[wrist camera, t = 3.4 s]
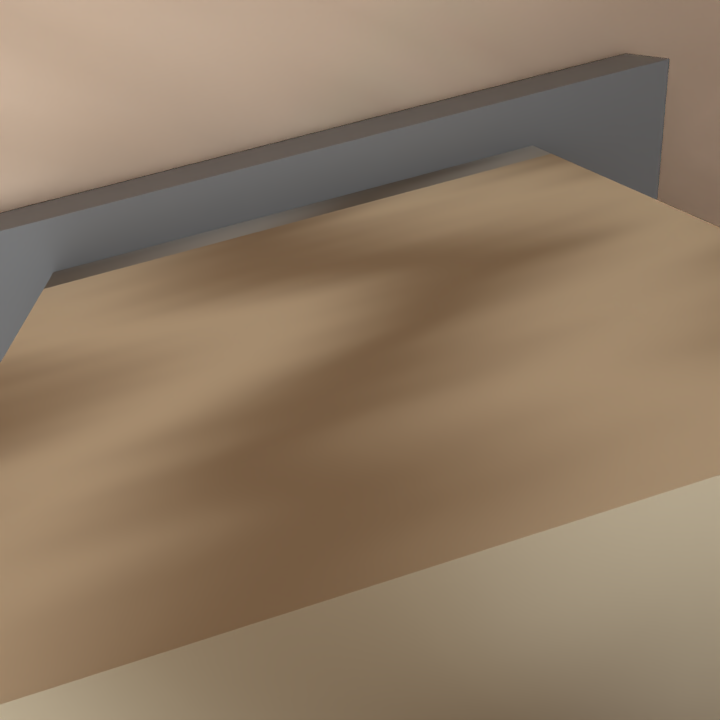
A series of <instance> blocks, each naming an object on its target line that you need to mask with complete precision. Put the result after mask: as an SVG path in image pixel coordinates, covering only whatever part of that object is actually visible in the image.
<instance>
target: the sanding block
mask: <svg viewBox="0 0 720 720" xmlns="http://www.w3.org/2000/svg"><path fill="white" fill-rule="evenodd" d="M0 720H720V227H718V226H715V225H713V224H711V223H708V222H706V221H704V220H702V219H699V218H697V217H695V216H693V215H690V214H688V213H686V212H683V211H681V210H679V209H677V208H674V207H672V206H670V205H667V204H665V203H663V202H661V201H658V200H656V199H654V198H651V197H649V196H647V195H645V194H642V193H640V192H638V191H635V190H633V189H631V188H629V187H626V186H624V185H622V184H619V183H617V182H615V181H613V180H610V179H608V178H606V177H604V176H601V175H599V174H597V173H594V172H592V171H590V170H588V169H585V168H583V167H581V166H578V165H576V164H574V163H572V162H569V161H567V160H565V159H562V158H560V157H558V156H556V155H553V154H551V153H549V152H546V151H544V150H542V149H540V148H537V147H535V146H533V145H532V146H529V147H525V148H521V149H517V150H514V151H510V152H506V153H502V154H498V155H495V156H491V157H487V158H483V159H480V160H476V161H472V162H468V163H464V164H461V165H457V166H453V167H449V168H446V169H442V170H438V171H434V172H430V173H427V174H423V175H419V176H415V177H412V178H408V179H404V180H400V181H396V182H393V183H389V184H385V185H381V186H378V187H374V188H370V189H366V190H362V191H359V192H355V193H351V194H347V195H344V196H340V197H336V198H332V199H328V200H325V201H321V202H317V203H313V204H310V205H306V206H302V207H298V208H295V209H291V210H287V211H283V212H279V213H276V214H272V215H268V216H264V217H261V218H257V219H253V220H249V221H245V222H242V223H238V224H234V225H230V226H227V227H223V228H219V229H215V230H211V231H208V232H204V233H200V234H196V235H193V236H189V237H185V238H181V239H177V240H174V241H170V242H166V243H162V244H159V245H155V246H151V247H147V248H143V249H140V250H136V251H132V252H128V253H125V254H121V255H117V256H113V257H109V258H106V259H102V260H98V261H94V262H91V263H87V264H83V265H79V266H75V267H72V268H68V269H64V270H60V271H57V272H53V274H52V275H51V277H50V279H49V281H48V282H47V284H46V286H45V287H44V289H43V291H42V293H41V294H40V296H39V298H38V299H37V301H36V303H35V304H34V306H33V308H32V310H31V311H30V313H29V315H28V316H27V318H26V320H25V322H24V323H23V325H22V327H21V328H20V330H19V332H18V334H17V335H16V337H15V339H14V340H13V342H12V344H11V345H10V347H9V349H8V351H7V352H6V354H5V356H4V357H3V359H2V361H1V363H0Z"/></svg>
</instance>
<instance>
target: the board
mask: <svg viewBox="0 0 720 720" xmlns="http://www.w3.org/2000/svg"><path fill="white" fill-rule="evenodd" d="M668 69H669V59H667V58H659V57H650V56H642V55H633V54H622V55H618V56H614V57H610V58H606V59H603V60H599V61H595V62H591V63H587V64H583V65H579V66H575V67H571V68H567V69H563V70H559V71H556V72H552V73H548V74H544V75H540V76H536V77H532V78H528V79H524V80H520V81H516V82H512V83H509V84H505V85H501V86H497V87H493V88H489V89H485V90H481V91H477V92H473V93H469V94H465V95H462V96H458V97H454V98H450V99H446V100H442V101H438V102H434V103H430V104H426V105H422V106H418V107H414V108H411V109H407V110H403V111H399V112H395V113H391V114H387V115H383V116H379V117H375V118H371V119H367V120H364V121H360V122H356V123H352V124H348V125H344V126H340V127H336V128H332V129H328V130H324V131H320V132H317V133H313V134H309V135H305V136H301V137H297V138H293V139H289V140H285V141H281V142H277V143H273V144H270V145H266V146H262V147H258V148H254V149H250V150H246V151H242V152H238V153H234V154H230V155H226V156H223V157H219V158H215V159H211V160H207V161H203V162H199V163H195V164H191V165H187V166H183V167H179V168H175V169H172V170H168V171H164V172H160V173H156V174H152V175H148V176H144V177H140V178H136V179H132V180H128V181H125V182H121V183H117V184H113V185H109V186H105V187H101V188H97V189H93V190H89V191H85V192H81V193H78V194H74V195H70V196H66V197H62V198H58V199H54V200H50V201H46V202H42V203H38V204H34V205H31V206H27V207H23V208H19V209H15V210H11V211H7V212H3V213H0V363H1V361H2V359H3V357H4V356H5V354H6V352H7V351H8V349H9V347H10V345H11V344H12V342H13V340H14V339H15V337H16V335H17V334H18V332H19V330H20V328H21V327H22V325H23V323H24V322H25V320H26V318H27V316H28V315H29V313H30V311H31V310H32V308H33V306H34V304H35V303H36V301H37V299H38V298H39V296H40V294H41V293H42V291H43V289H44V287H45V286H46V284H47V282H48V281H49V279H50V277H51V275H52V274H53V272H57V271H60V270H64V269H68V268H72V267H75V266H79V265H83V264H87V263H91V262H94V261H98V260H102V259H106V258H109V257H113V256H117V255H121V254H125V253H128V252H132V251H136V250H140V249H143V248H147V247H151V246H155V245H159V244H162V243H166V242H170V241H174V240H177V239H181V238H185V237H189V236H193V235H196V234H200V233H204V232H208V231H211V230H215V229H219V228H223V227H227V226H230V225H234V224H238V223H242V222H245V221H249V220H253V219H257V218H261V217H264V216H268V215H272V214H276V213H279V212H283V211H287V210H291V209H295V208H298V207H302V206H306V205H310V204H313V203H317V202H321V201H325V200H328V199H332V198H336V197H340V196H344V195H347V194H351V193H355V192H359V191H362V190H366V189H370V188H374V187H378V186H381V185H385V184H389V183H393V182H396V181H400V180H404V179H408V178H412V177H415V176H419V175H423V174H427V173H430V172H434V171H438V170H442V169H446V168H449V167H453V166H457V165H461V164H464V163H468V162H472V161H476V160H480V159H483V158H487V157H491V156H495V155H498V154H502V153H506V152H510V151H514V150H517V149H521V148H525V147H529V146H532V145H533V146H535V147H537V148H540V149H542V150H544V151H546V152H549V153H551V154H553V155H556V156H558V157H560V158H562V159H565V160H567V161H569V162H572V163H574V164H576V165H578V166H581V167H583V168H585V169H588V170H590V171H592V172H594V173H597V174H599V175H601V176H604V177H606V178H608V179H610V180H613V181H615V182H617V183H619V184H622V185H624V186H626V187H629V188H631V189H633V190H635V191H638V192H640V193H642V194H645V195H647V196H649V197H651V198H654V199H656V200H657V197H658V185H659V174H660V162H661V150H662V139H663V127H664V115H665V104H666V92H667V81H668Z"/></svg>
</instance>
